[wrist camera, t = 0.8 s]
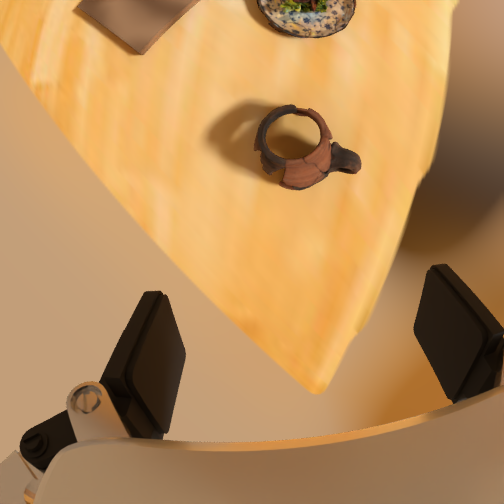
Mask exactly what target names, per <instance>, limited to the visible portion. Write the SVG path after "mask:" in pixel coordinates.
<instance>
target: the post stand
mask: <svg viewBox="0 0 504 504" xmlns="http://www.w3.org/2000/svg"><path fill="white" fill-rule="evenodd" d="M199 1H200V0H83V1H82V2H81V3H80V4H79V5H78V8H80V9H81V10H82V11H84V12H85V13H87V14H88V15H90V16H91V17H92V18H94V19H95V20H96V21H98V22H99V23H101V24H102V25H103V26H105V27H106V28H107V29H109V30H110V31H111V32H113V33H114V34H115V35H117V36H118V37H119V38H121V39H122V40H123V41H124V42H126V43H127V44H128V45H129V46H131V47H132V48H133V49H135V50H136V51H137V52H138V53H140V54H142V55H144V54H145V52H146V51H147V50H148V49H149V48H150V47H151V46H152V45H153V44H154V43H155V42H156V41H157V40H158V39H159V38H160V37H161V36H162V35H163V34H164V33H165V32H166V31H167V30H168V29H169V28H170V27H171V26H172V25H173V24H174V23H175V22H176V21H177V20H178V19H179V18H181V17H182V16H183V15H184V14H185V13H186V12H187V11H188V10H189V9H191V8H192V7H193V6H194V5H195V4H196V3H198V2H199Z"/></svg>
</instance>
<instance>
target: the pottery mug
mask: <svg viewBox="0 0 504 504" xmlns="http://www.w3.org/2000/svg"><path fill="white" fill-rule="evenodd" d="M291 113H296V114H298V115H299V116H308V117H310V118H311V119H313V120H314V121H315V122H316V123H317V125H318V127H319V129H320V136H321V138H320V142H319V144H318V146H317V147H316V149H315V150H314V151H313V152H311V153H310V154H309V155H307V156H305V157H303V158H298V159H283V158H281V157H278V156H277V155H275V154H274V153H272V152H271V151H270V149H269V148H268V146H267V144H266V139H265V137H266V132H267V129H268V127H269V126H270V124H271V123H272V122H273V121H275V120H276V119H277V118H279V117H281V116H283V115H286V114H291ZM330 139H332V135H331V132H330V130H329V129H328V127H327V125H326V123H325V121H324V119H323V118H322V117H321V116H320V115H319V113H317V112H316V111H314V110H312V109H310V108H309V109H308V110H307V109H302V108H296V106H295V105H285V106H282V107H279V108H277V109H275V110H273V111H271V112H270V113H269V114H268V115H267V117H265V118H264V119H263V120H262V122H261V124H260V126H259V128H258V132H257V136H256V139H255V143H254V151H256V150H260V151H262V153H261V156H260V157H261V163H262V164H263V170H264V171H265V172H266V173H267V174H269V175H272V173H273V172H275V171H277V170H279V169H283V168H285V172H284V177H283V182H280V183H279V185H280V186H282V187H284V188H286V189H291V190H303V189H306V188H309V187H311V186H313V185H314V184H316V183H318V182H320V181H321V180H323V179H324V178H326V177H327V176H328V174H329V173H331V172H334V171H339V172H344V173H348V174H356V173H357V172H358V171H359V170H360V169H361V160H360V157H359V155H358V154H356V153H355V152H353V151H351V150H348V149H345V148H342V147H341V146H340V145H339V144H338V143H337V142H333V143H332V144H331V143H330V141H329V140H330Z"/></svg>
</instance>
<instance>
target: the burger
mask: <svg viewBox="0 0 504 504" xmlns="http://www.w3.org/2000/svg"><path fill="white" fill-rule="evenodd" d="M257 4H259V5H258V6H260V9H259V10H261V9H262V10H261V12H262V11H263V14H265V15H266V17H267V18H268V20H269V21H270V23H269V25H271V26H272V27H273V28H275V30H278V31H279V32H285V33H288V34H290V35H292V36H296V37H299V38H321V37H326V36H330V35H332V34H335V33H337V32H339V31H341V30H343V29H344V28H345V27H346V26H347V24H348V23H349V21H350V19H351V18H352V16H353V15H354V10H355V7H356V0H257ZM258 8H259V7H258Z"/></svg>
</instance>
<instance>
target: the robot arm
mask: <svg viewBox="0 0 504 504" xmlns="http://www.w3.org/2000/svg"><path fill="white" fill-rule="evenodd" d="M414 334H415V336H416V338H417V340H418V342H419V344H420V345H421V347H422V349H423V351H424V353H425V355H426V356H427V358H428V360H429V362H430V364H431V366H432V368H433V370H434V372H435V374H436V376H437V378H438V380H439V382H440V384H441V386H442V388H443V390H444V392H445V394H446V396H447V398H448V399H450V400H452V402H453V404H452V405H450V406H447V407H444V408H441V409H438V410H435V411H432V412H428V413H425V414H422V415H418V416H415V417H412V418H408V419H404V420H401V421H396V422H393V423H389V424H384V425H380V426H376V427H371V428H366V429H361V430H356V431H350V432H344V433H338V434H332V435H326V436H318V437H310V438H301V439H292V440H279V441H263V442H188V441H171V440H163V435H164V433H166V434H167V433H168V431H169V428H170V423H171V418H172V414H173V410H174V405H175V401H176V397H177V392H178V387H179V384H180V379H181V375H182V371H183V367H184V363H185V357H186V353H185V348H184V345H183V342H182V339H181V336H180V333H179V330H178V327H177V324H176V321H175V318H174V315H173V312H172V308H171V305H170V302H169V299H168V296H167V295H166V294H165V295H163V293H162V292H161V291H146V292H144V294H143V296H142V297H141V300H140V301H139V303H138V305H137V307H136V309H135V311H134V313H133V315H132V317H131V318H130V321H129V323H128V324H127V326H126V328H125V330H124V331H123V333H122V335H121V337H120V339H119V341H118V343H117V345H116V347H115V349H114V351H113V353H112V356H111V358H110V360H109V362H108V364H107V366H106V368H105V370H104V372H103V375H102V377H101V379H100V381H99V383H98V382H93V381H91V382H84V383H81V384H79V385H78V386H76V387H75V388H74V389H73V390H72V391H71V392H70V394H69V395H68V397H67V401H66V405H67V410H65V411H63V412H61V413H59V414H57V415H55V416H54V417H52V418H50V419H48V420H46V421H44V422H43V423H40V424H38V425H36V426H34V427H33V428H31V429H29V430H28V431H26V433H25V434H24V435H23V437H22V439H21V441H20V452H17V451H16V450H15V451H14V452H13V453H11V454H10V455H9V456H8V457H7V458H6V459H5V460H4V461H3V462H2V463H1V464H0V504H504V338H503V335H504V328H503V327H502V326H501V325H500V323H499V322H498V321H497V320H496V319H495V317H494V316H493V315H492V314H491V313H490V311H489V310H488V309H487V308H486V307H485V306H484V304H483V303H482V302H481V301H480V300H479V298H478V297H477V296H476V295H475V294H474V293H473V292H472V291H471V289H470V288H469V287H468V286H467V285H466V284H465V283H464V282H463V281H462V280H461V279H460V278H459V276H458V275H457V274H456V273H455V272H454V271H453V270H452V269H451V268H450V267H449V266H448V265H447V264H438V265H433V266H431V268H430V270H428V271H427V274H426V278H425V283H424V288H423V292H422V296H421V300H420V304H419V308H418V312H417V316H416V320H415V323H414Z"/></svg>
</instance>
